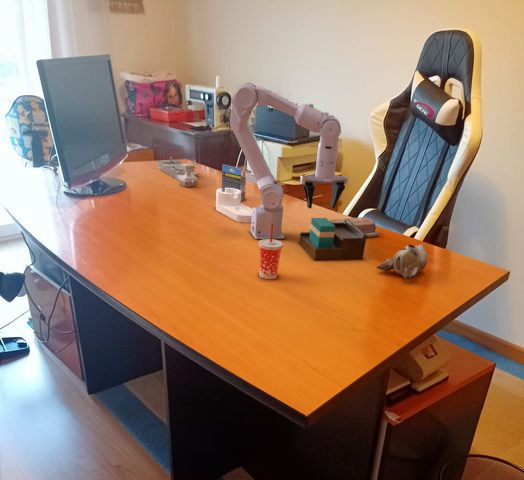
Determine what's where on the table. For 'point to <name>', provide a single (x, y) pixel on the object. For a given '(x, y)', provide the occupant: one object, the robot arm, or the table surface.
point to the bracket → (232, 205)
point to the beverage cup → (269, 256)
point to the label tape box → (233, 180)
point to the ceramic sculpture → (407, 261)
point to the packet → (322, 232)
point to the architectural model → (172, 167)
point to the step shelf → (338, 243)
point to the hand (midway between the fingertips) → (320, 207)
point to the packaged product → (361, 225)
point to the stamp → (187, 176)
